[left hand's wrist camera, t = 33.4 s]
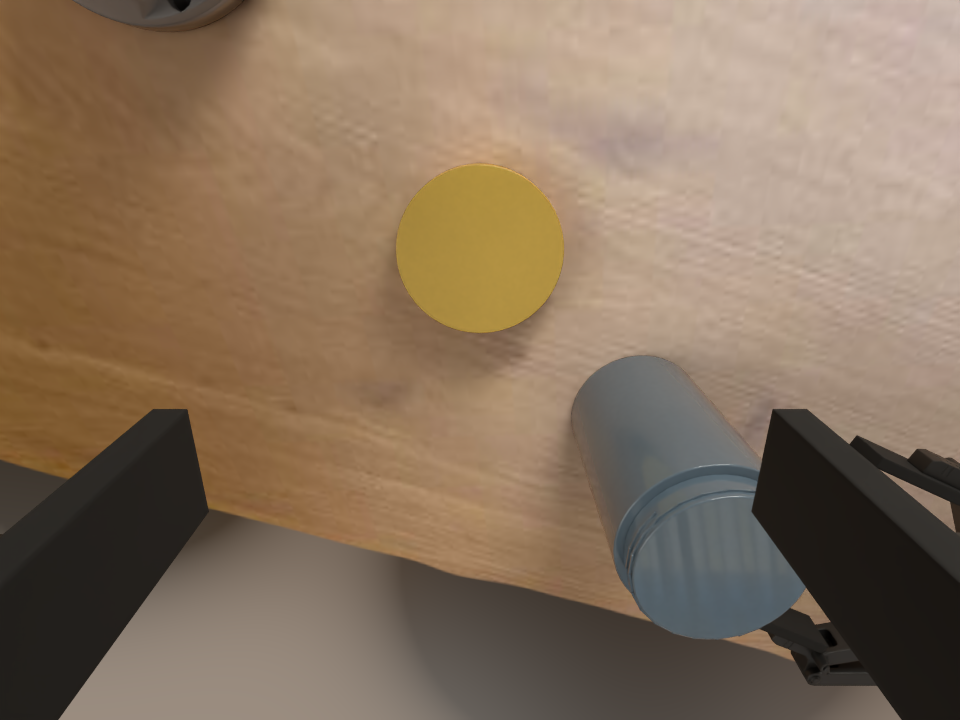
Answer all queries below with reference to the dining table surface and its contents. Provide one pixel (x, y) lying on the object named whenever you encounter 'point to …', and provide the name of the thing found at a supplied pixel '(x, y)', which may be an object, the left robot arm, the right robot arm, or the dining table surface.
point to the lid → (479, 248)
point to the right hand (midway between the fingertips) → (797, 531)
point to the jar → (679, 502)
